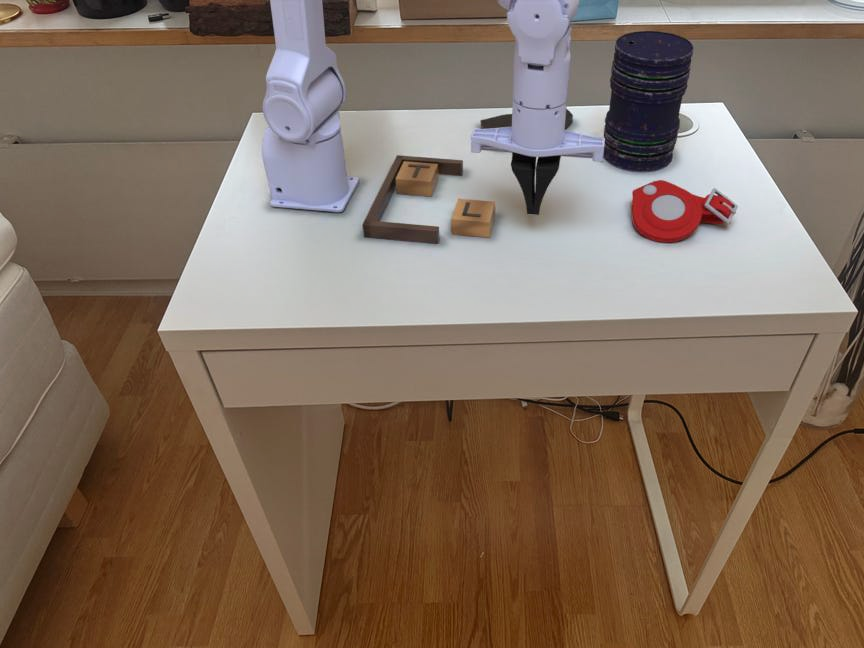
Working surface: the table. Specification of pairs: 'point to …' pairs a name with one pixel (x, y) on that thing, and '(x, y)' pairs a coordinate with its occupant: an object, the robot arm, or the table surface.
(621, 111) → the dark blue barrel
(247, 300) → the table surface
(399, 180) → the t tile
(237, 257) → the table surface
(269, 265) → the table surface
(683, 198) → the tracker holder
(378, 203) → the frame
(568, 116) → the dark sector wedge
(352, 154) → the table surface
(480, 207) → the l tile
